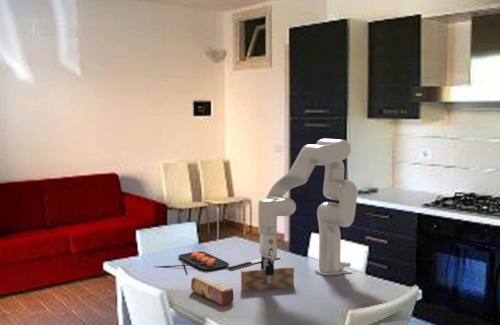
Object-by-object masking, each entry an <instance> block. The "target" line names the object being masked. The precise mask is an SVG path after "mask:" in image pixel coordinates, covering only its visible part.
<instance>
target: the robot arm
mask: <svg viewBox="0 0 500 325" xmlns="http://www.w3.org/2000/svg"><path fill="white" fill-rule="evenodd" d="M351 151H352V147H351V144H350V143H349V142H348V141H347V140H345V139H338V138H337V139H336V138H321V139H319V140H317V141H316V143H315V144H305V145H304V146H303V147H302V148H301V149H300V151H299V153H298V155H297V156H296V159H295V161H294V162H293V163H292V166H291V168H290V170H289V171H288V172H287V173H286V174H285V175H283V176H282V177H281V178H280V179H278V180H277V181H276V182H275V183H274V184H273V186H272V187H271V188H270V190H269V192H268V193H267V196H266V198H261V199H260V200H258V215H257V216H258V217H257V219H258V221H257V222H258V225H257V226H258V231H257V232H258V234H259V254H260V255H261V257H260V258H261V260H266V263H267V266H266V275H267V276H268V275H274V268H275V259H274V258H276V259H278V258H277V256H278V247H277V246H278V244H277V235H276V234H278V217H289V216H291V215H293V214H294V213H295V212H296V210H297V205H296V203H295V200H293V199H292V198H289V197H284V196H285V194H286V193H287V192H289V191H290V190H293V189H294V188H296V187H300V186H301V185H305V184H306V183H307V182H308V180H309V178H310V177H311V174H312V173H313V171H314V169H315V167H316V166H324V180H323V187H322V188H323V189H322V192H323V196H324V197H325V198H326V199H328V200H333V201H338V203H337V202H330V201H324V202H322V203H321V204H320V205H318V207H317V211H316V216H317V217H316V218H317V220H318V222H317V223H318V229H319V231H318V233H319V234H318V266H316V267H315V268H314V269H315V272H316V274H319V275H322V276H330V277H331V276H339V275H342V274H344V271H345V270H344V269H345V268H350V267H351V263H350V262H346V261H341V246H342V245H341V238H342V237H341V236H342V235H341V230H340V227H341V228H348V227H351V225H352V224H353V223H354V220H355V215H356V207H357V199H358V189H357V186H356V184H355V183H354V182H353V181H352V180H348V179H345V164H344V162H343V160H346V159H347V158H348V157H350V154H351ZM268 257H270V258H268ZM268 261H269V262H268ZM260 269H263V261H261V262H260Z"/></svg>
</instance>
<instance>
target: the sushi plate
mask: <svg viewBox="0 0 500 325" xmlns="http://www.w3.org/2000/svg"><path fill="white" fill-rule="evenodd" d="M178 258H180V259H181V261H182V263H183V264H179V265H175V264H174V265H158V266H157V265H156V266H154V268H171V267H172V268H174V267H184V272H185V275H186V276H189V274H188V271H187V268H186V266H187V267H188V266H190V267H191V266H195V267H196V268H199V269H200V270H202V271H203V270H204V271H208V270H209V271H210V270H215V269H220V268H225V267H228V266H229V267H230V263H229V262H227V261H225V260H224V259H223V260H222V259H221V258H218V257H217V256H214V255H212V254H210V253H207V252H205V251H199V250H198V251H194V252H193V251H192V252H187V253H181V254H179V255H178ZM184 261H185V262H186V263H189V264H185V262H184Z"/></svg>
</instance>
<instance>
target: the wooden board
mask: <svg viewBox="0 0 500 325" xmlns="http://www.w3.org/2000/svg"><path fill="white" fill-rule="evenodd" d="M240 283H241V284H240V285H241V286H240V290H241V291H242V292H246V291H258V290H260V291H261V290H268V289H269V290H270V289H279V288H280V289H282V288H291V287H295V285H294V284H295V267H294V266H283V267H274V275H271V283H268V284H267V282H266V278H265V270H264V269H261V268H259V269H257V268H256V269H247V270H240Z"/></svg>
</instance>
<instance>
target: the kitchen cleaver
mask: <svg viewBox="0 0 500 325" xmlns="http://www.w3.org/2000/svg"><path fill="white" fill-rule="evenodd" d="M258 258H259V259H258ZM258 258H255V259H251V260H247V261H244V262H243V263H239V264H235V265H232V266H229V267H228V266H227V270H228V271H235V270H238V269H241V268H247V267H248V266H249V267H250V266H252V265H253V264H258V263H261V261H263V260H261V257H258ZM268 258H270V257H268ZM280 258H281V256H279V255H277V258H274V260H275V259H280Z"/></svg>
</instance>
